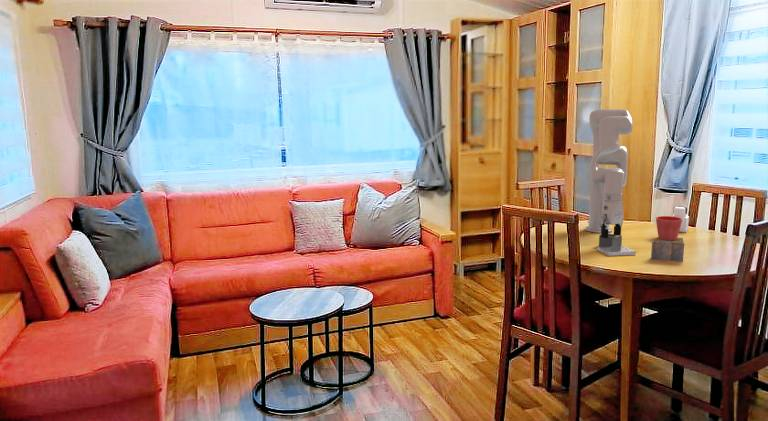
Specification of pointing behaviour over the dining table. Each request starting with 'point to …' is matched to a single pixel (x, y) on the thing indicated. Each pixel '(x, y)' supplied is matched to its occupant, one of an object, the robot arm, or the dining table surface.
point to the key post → (616, 249)
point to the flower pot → (668, 227)
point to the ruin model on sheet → (668, 250)
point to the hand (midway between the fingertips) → (610, 236)
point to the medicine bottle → (681, 213)
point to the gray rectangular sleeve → (608, 240)
